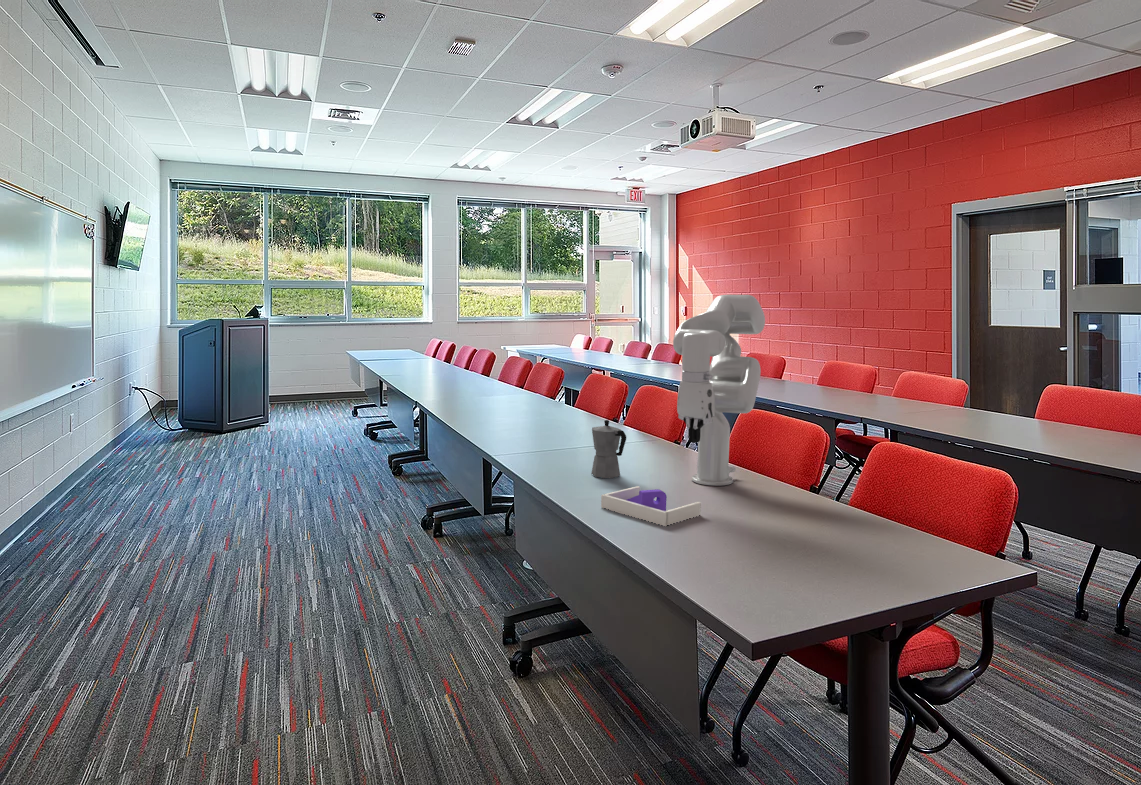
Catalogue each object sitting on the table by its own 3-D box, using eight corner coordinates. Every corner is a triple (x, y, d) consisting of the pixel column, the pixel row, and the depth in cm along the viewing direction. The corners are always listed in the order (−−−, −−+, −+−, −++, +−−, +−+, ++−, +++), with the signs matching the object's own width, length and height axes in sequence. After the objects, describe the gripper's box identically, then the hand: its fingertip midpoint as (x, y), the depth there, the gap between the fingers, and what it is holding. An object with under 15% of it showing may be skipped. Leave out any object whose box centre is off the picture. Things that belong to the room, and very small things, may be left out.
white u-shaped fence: (637, 498, 199) (637, 486, 198) (700, 515, 183) (700, 502, 183) (601, 507, 189) (601, 494, 189) (664, 526, 173) (665, 512, 173)
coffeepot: (581, 473, 228) (582, 418, 226) (602, 469, 234) (603, 416, 232) (613, 482, 216) (614, 425, 214) (635, 478, 222) (636, 422, 220)
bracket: (665, 516, 183) (666, 490, 182) (641, 518, 181) (642, 492, 180) (646, 504, 194) (647, 480, 193) (623, 505, 192) (624, 481, 191)
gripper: (726, 378, 191) (724, 444, 194) (682, 373, 202) (681, 435, 205) (709, 381, 186) (708, 448, 189) (665, 375, 197) (664, 439, 200)
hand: (694, 441), depth 197 cm, fingers closed
